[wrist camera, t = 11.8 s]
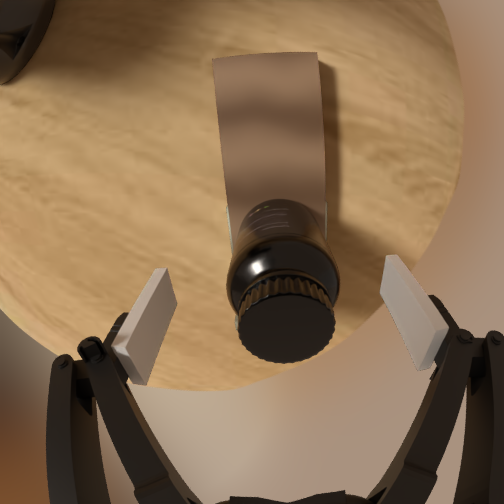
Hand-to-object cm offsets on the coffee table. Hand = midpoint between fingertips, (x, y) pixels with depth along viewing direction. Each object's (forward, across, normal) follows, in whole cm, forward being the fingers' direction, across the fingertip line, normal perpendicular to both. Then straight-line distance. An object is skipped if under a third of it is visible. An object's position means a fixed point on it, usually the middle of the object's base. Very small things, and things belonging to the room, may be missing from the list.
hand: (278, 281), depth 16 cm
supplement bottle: (+8, 0, -1) cm, 8 cm away
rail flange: (+10, 0, +3) cm, 11 cm away
